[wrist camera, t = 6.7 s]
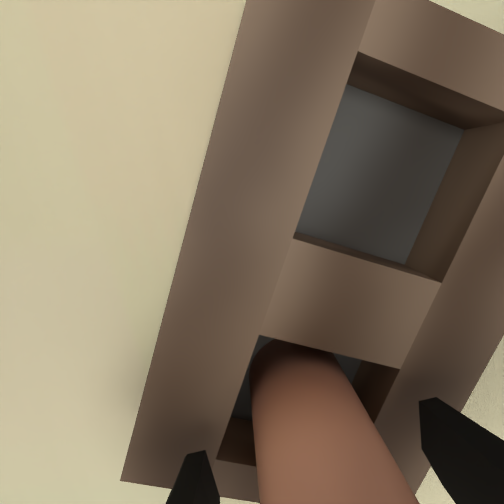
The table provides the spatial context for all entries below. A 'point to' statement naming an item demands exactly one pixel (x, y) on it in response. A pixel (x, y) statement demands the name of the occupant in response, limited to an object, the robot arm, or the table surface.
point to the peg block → (336, 229)
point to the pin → (316, 433)
